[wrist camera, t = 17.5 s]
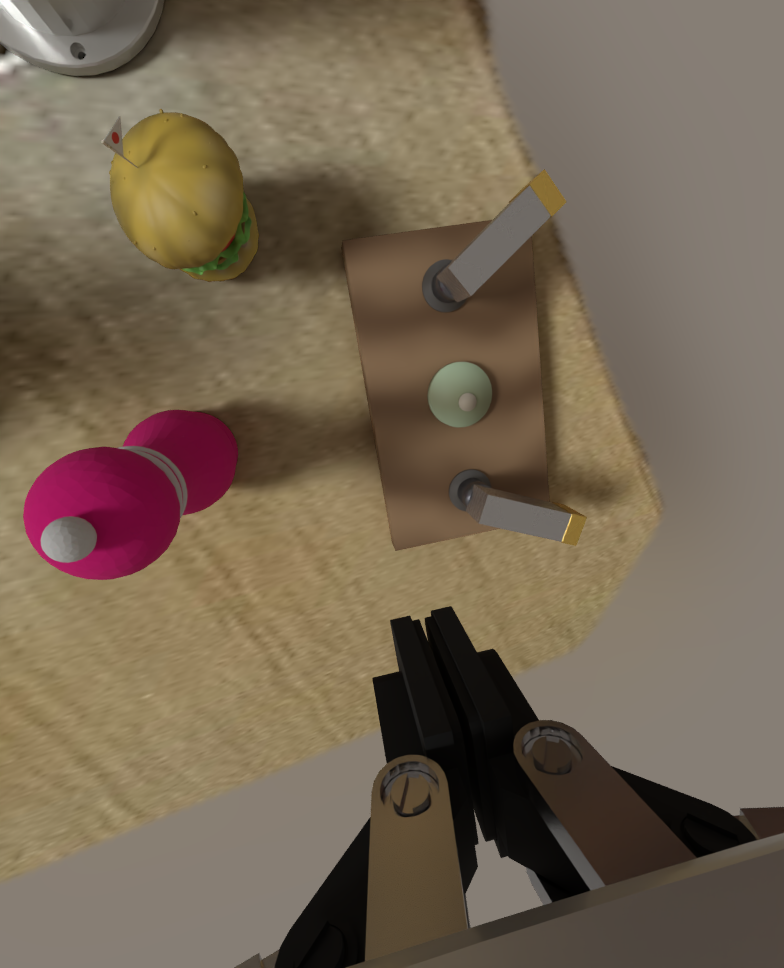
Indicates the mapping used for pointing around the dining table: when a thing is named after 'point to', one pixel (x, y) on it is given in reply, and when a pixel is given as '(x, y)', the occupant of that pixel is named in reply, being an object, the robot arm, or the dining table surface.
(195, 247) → the hamburger
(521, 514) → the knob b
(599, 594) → the dining table surface
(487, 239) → the gold-tipped grey bar
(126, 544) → the pepper mill
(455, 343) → the level plate
